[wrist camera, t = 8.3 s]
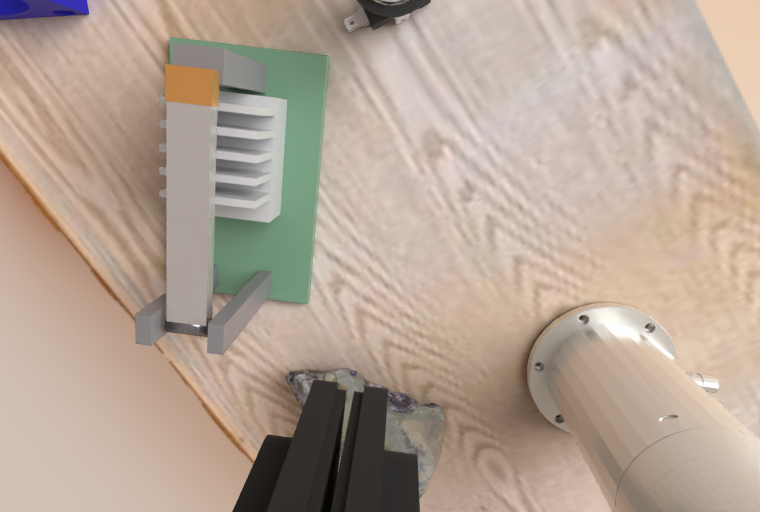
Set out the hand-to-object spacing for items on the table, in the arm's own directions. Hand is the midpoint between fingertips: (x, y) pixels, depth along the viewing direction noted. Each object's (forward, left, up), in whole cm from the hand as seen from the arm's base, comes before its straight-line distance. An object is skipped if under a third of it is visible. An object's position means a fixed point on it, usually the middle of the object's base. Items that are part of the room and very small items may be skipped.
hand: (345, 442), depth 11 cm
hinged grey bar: (+12, 0, -21) cm, 24 cm away
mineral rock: (0, +17, -31) cm, 36 cm away
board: (+12, -1, -31) cm, 33 cm away
